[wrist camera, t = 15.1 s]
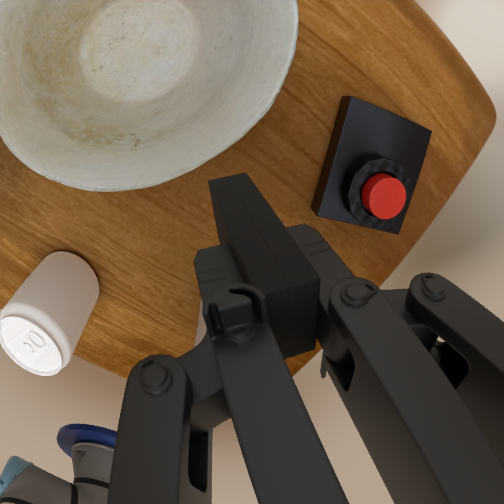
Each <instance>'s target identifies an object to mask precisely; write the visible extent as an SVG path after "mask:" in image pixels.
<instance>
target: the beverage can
mask: <svg viewBox="0 0 504 504" xmlns="http://www.w3.org/2000/svg"><path fill="white" fill-rule="evenodd" d="M98 297H99V283H98V280H97V277H96V275H95V273H94V271H93V270H92V268H91V267H90V266H89V265H88V264H87V263H86V262H85V261H84V260H83V259H81V258H80V257H78V256H77V255H75V254H72V253H69V252H63V251H59V252H54V253H51V254H49V255H48V256H46V257H45V258H44V260H43V261H42V262H41V263H40V264H39V265H38V266H37V267H36V269H35V270H34V271H33V272H32V273H31V274H30V276H29V277H28V278H27V279H26V280H25V282H24V283H23V284H22V285H21V286H20V288H19V289H18V290H17V291H16V293H15V294H14V295H13V296H12V298H11V299H10V300H9V301H8V303H7V304H6V305H5V307H4V308H3V309H2V311H1V314H0V343H1V345H2V347H3V349H4V350H5V352H6V353H7V354H8V355H9V356H10V358H11V359H12V360H13V361H14V362H16V363H17V364H18V365H19V366H21V367H22V368H24V369H25V370H27V371H29V372H32V373H34V374H37V375H41V376H51V375H54V374H56V373H58V372H59V371H60V369H62V368H63V367H65V366H66V365H67V364H68V362H69V361H70V358H71V357H72V354H73V352H74V350H75V347H76V345H77V343H78V340H79V338H80V336H81V334H82V332H83V329H84V327H85V325H86V323H87V321H88V319H89V316H90V314H91V312H92V310H93V308H94V306H95V304H96V302H97V300H98Z"/></svg>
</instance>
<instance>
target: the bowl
mask: <svg viewBox="0 0 504 504" xmlns="http://www.w3.org/2000/svg"><path fill="white" fill-rule="evenodd" d="M298 20H299V18H298V6H297V0H0V136H1V138H2V140H3V141H4V143H5V144H6V146H7V147H8V148H9V149H10V151H11V152H12V153H13V154H14V155H15V156H16V158H18V159H19V160H20V161H21V162H22V163H23V164H25V165H26V166H27V167H29V168H30V169H31V170H33V171H35V172H36V173H38V174H40V175H42V176H45V177H47V179H50V180H53V181H56V182H59V183H61V184H64V185H66V186H69V187H74V188H79V189H83V190H87V191H95V192H116V191H128V190H136V189H143V188H148V187H153V186H156V185H159V184H162V183H164V182H167V181H170V180H172V179H175V178H177V177H179V176H181V175H183V174H186V173H188V172H191V171H192V170H194V169H196V168H197V167H199V166H201V165H202V164H204V163H206V162H207V161H209V160H211V159H212V158H214V157H215V156H217V155H218V154H220V153H221V152H223V151H225V150H226V149H227V148H229V147H230V146H232V145H233V144H234V143H236V142H237V141H238V140H239V139H241V138H242V137H243V136H244V135H245V134H246V133H247V132H248V131H249V130H250V129H251V128H252V127H253V126H254V125H255V124H256V123H257V122H258V121H259V120H260V119H262V118H263V117H264V115H265V114H266V113H267V112H268V111H269V109H270V108H271V106H272V104H273V103H274V101H275V98H276V96H277V94H278V93H279V92H280V88H281V87H282V85H283V84H284V80H285V77H286V75H287V73H288V71H289V68H290V65H291V63H292V61H293V59H294V54H295V48H296V40H297V36H298Z"/></svg>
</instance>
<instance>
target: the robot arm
mask: <svg viewBox="0 0 504 504" xmlns="http://www.w3.org/2000/svg"><path fill="white" fill-rule="evenodd" d="M208 183H209V188H210V194H211V199H212V205H213V210H214V216H215V221H216V226H217V232H218V237H219V241H220V243H221V245H217V246H213V247H209V248H205V249H201V250H198V251H197V254H196V257H195V259H194V266H195V271H196V275H197V280H198V284H199V289H200V293H201V298H202V302H203V307H202V315H203V318H204V321H205V324H206V327H207V330H206V334H205V336H204V337H203V339H202V341H201V342H200V343H199V344H198V345H197V346H196V347H195V348H193V349H192V350H190V351H189V352H187V353H185V354H183V355H182V356H180V357H178V358H174V357H172V356H170V355H163V354H157V355H152V356H148V357H146V358H145V359H143V360H141V361H139V362H138V363H137V364H136V365H135V366H134V367H133V368H132V370H131V372H130V374H129V377H128V379H127V383H126V388H125V393H124V398H123V403H122V409H121V413H120V418H119V424H118V430H117V435H116V441H115V446H114V445H111V444H108V443H104V442H100V441H95V440H78V441H76V442H74V444H73V446H72V462H73V469H74V482H73V484H72V483H69V482H67V481H65V480H63V479H61V478H58V477H56V476H54V475H52V474H50V473H48V472H46V471H44V470H42V469H40V468H39V467H37V466H35V465H33V463H31V462H27V461H26V460H24V459H22V458H20V457H17V456H12V457H11V458H9V460H8V462H7V464H6V466H5V468H4V470H3V472H2V474H1V476H0V504H212V503H211V501H212V500H211V499H212V432H213V431H212V429H213V428H214V427H216V426H217V425H219V424H221V423H222V422H224V421H226V420H227V419H229V418H232V421H233V425H234V428H235V431H236V435H237V438H238V441H239V444H240V448H241V451H242V454H243V457H244V461H245V464H246V467H247V470H248V473H249V476H250V479H251V482H252V485H253V488H254V491H255V494H256V497H257V500H258V503H259V504H349V502H348V500H347V498H346V495H345V493H344V491H343V489H342V487H341V485H340V482H339V480H338V478H337V476H336V474H335V472H334V469H333V467H332V465H331V463H330V461H329V459H328V456H327V454H326V452H325V449H324V448H323V445H322V443H321V441H320V438H319V436H318V434H317V432H316V430H315V427H314V425H313V423H312V421H311V418H310V416H309V414H308V412H307V409H306V407H305V405H304V403H303V400H302V398H301V396H300V394H299V391H298V389H297V387H296V385H295V382H294V380H293V378H292V376H291V373H290V371H289V369H288V367H287V364H286V362H285V360H284V359H286V358H290V357H293V356H296V355H299V354H302V353H305V352H308V351H311V350H314V349H315V348H316V338H317V339H318V341H319V343H320V345H321V347H322V349H323V355H322V362H321V370H320V373H321V377H322V378H325V376H326V370H327V372H328V374H329V376H330V377H331V379H332V381H333V383H334V385H335V387H336V389H337V391H338V393H339V395H340V397H341V399H342V401H343V403H344V405H345V407H346V409H347V410H348V412H349V414H350V416H351V418H352V420H353V422H354V424H355V426H356V428H357V430H358V432H359V434H360V436H361V438H362V440H363V442H364V444H365V446H366V448H367V450H368V452H369V454H370V456H371V458H372V459H373V462H374V464H375V465H376V468H377V470H378V472H379V473H380V476H381V477H382V480H383V482H384V483H385V486H386V487H387V490H388V492H389V494H390V496H391V498H392V499H393V502H394V504H504V322H503V321H502V320H500V319H499V318H498V317H496V316H495V315H494V314H493V313H492V312H490V311H489V310H488V309H486V308H485V307H484V306H482V305H481V304H480V303H479V302H477V301H476V300H475V299H473V298H472V297H471V296H469V295H468V294H467V293H465V292H464V291H462V290H461V289H460V288H459V287H457V286H456V285H454V284H453V283H452V282H450V281H449V280H447V279H446V278H444V277H442V276H440V275H438V274H434V273H421V274H419V275H416V276H415V277H414V278H413V279H412V280H411V283H410V286H409V289H395V290H380V289H379V287H377V286H376V285H375V284H374V283H373V282H371V281H369V280H366V279H364V278H358V277H355V276H354V275H353V273H352V272H351V271H350V270H349V268H348V267H347V266H346V265H345V263H344V262H343V261H342V260H341V258H340V257H339V256H338V255H337V254H336V252H335V251H334V250H333V249H331V246H330V245H329V244H328V243H327V241H325V239H324V238H323V237H322V235H321V234H320V233H319V232H318V231H317V230H316V229H314V228H312V227H310V226H309V225H307V224H305V223H304V224H300V225H296V226H291V227H287V228H285V226H284V225H283V223H282V222H281V221H280V219H279V218H278V216H277V215H276V213H275V212H274V211H273V209H272V208H271V207H270V205H269V204H268V202H267V201H266V200H265V198H264V197H263V195H262V194H261V193H260V191H259V190H258V189H257V187H256V186H255V184H254V183H253V182H252V180H251V179H250V178H249V176H248V175H247V174H246V173H242V174H237V175H232V176H227V177H222V178H218V179H213V180H209V181H208ZM438 336H439V337H440V338H442V339H443V340H444V341H445V342H439V341H438V340H437V338H438Z"/></svg>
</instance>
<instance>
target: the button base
mask: <svg viewBox="0 0 504 504" xmlns="http://www.w3.org/2000/svg"><path fill="white" fill-rule="evenodd" d="M431 133H432V131H431V130H429V129H427V128H425V127H423V126H421V125H419V124H416V123H414V122H412V121H410V120H408V119H406V118H403V117H401V116H399V115H397V114H394V113H392V112H390V111H387V110H385V109H383V108H380V107H378V106H375V105H373V104H370V103H368V102H365V101H363V100H360V99H357V98H355V97H352V96H342V100H341V103H340V107H339V111H338V115H337V119H336V122H335V126H334V130H333V133H332V137H331V141H330V144H329V148H328V152H327V155H326V159H325V162H324V166H323V169H322V173H321V176H320V180H319V183H318V186H317V190H316V193H315V197H314V200H313V203H312V207H311V209H312V211H313V212H314V213H315V214H316V215H317V216H319V217H324V218H328V219H333V220H338V221H342V222H347V223H351V224H355V225H360V226H364V227H368V228H373V229H377V230H381V231H385V232H389V233H393V234H398V233H399V231H400V228H401V226H402V223H403V220H404V218H405V215H406V212H407V209H408V207H409V204H410V201H411V198H412V195H413V192H414V189H415V186H416V183H417V180H418V177H419V174H420V171H421V168H422V164H423V161H424V158H425V154H426V151H427V147H428V144H429V140H430V137H431ZM379 173H385V174H388V175H390V176H392V177H394V178H396V179H398V180H399V181H400V182H401V183H402V184H403V186H404V188H405V191H406V200H405V204H404V206H403V208H402V210H401V211H400V212H399V213H398V214H397V215H396V216H394V217H393V218H390V219H380V218H378V217H376V216H375V215H374V214H372V213H371V212H370V211H369V210H367V209H366V207H365V206H364V204H363V201H362V189H363V186H364V184H365V183H366V181H367V180H368V179H369V178H370V177H372V176H373V175H375V174H379Z"/></svg>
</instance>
